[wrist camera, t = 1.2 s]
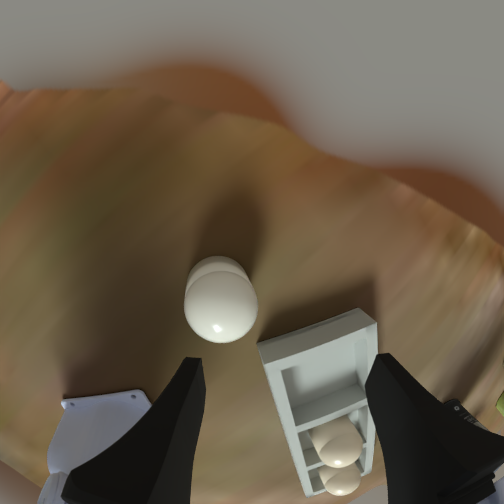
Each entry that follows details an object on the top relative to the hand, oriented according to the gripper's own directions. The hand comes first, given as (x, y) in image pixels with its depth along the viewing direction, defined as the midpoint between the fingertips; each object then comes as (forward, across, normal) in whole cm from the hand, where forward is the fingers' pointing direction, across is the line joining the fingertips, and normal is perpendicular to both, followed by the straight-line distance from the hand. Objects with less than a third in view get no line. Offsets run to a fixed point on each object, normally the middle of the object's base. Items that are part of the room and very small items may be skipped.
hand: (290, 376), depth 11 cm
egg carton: (+8, -6, +18) cm, 20 cm away
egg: (+10, +4, +2) cm, 11 cm away
